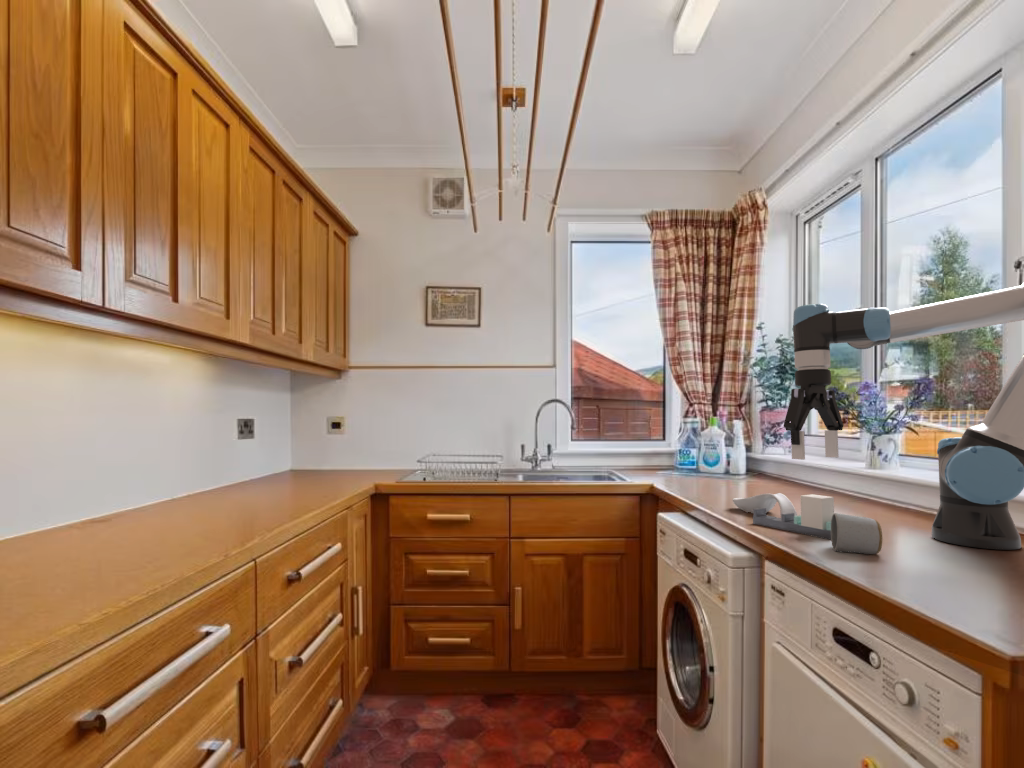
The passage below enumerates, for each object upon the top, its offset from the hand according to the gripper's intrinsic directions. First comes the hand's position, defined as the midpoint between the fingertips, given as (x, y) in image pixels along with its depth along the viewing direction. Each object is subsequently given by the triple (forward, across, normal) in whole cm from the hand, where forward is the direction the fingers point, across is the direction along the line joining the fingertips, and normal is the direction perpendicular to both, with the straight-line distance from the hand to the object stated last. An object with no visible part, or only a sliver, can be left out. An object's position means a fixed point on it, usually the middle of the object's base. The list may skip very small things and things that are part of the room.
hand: (815, 458), depth 126 cm
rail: (+18, 0, -6) cm, 19 cm away
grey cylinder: (+18, +8, +12) cm, 23 cm away
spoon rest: (+18, -12, -22) cm, 31 cm away
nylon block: (+16, 0, 0) cm, 16 cm away
